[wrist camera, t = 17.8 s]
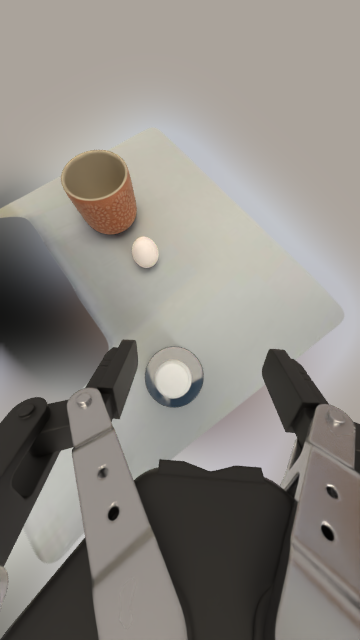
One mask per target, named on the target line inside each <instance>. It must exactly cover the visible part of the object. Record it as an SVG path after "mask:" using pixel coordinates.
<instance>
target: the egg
mask: <svg viewBox="0 0 360 640" xmlns="http://www.w3.org/2000/svg"><path fill="white" fill-rule="evenodd" d="M132 255H133V258H134V260H135V262H136V263H137V264H138V265H140V266H141V267H144V268H149V267H152V266H154V265H155V264H156V262H157V260H158V256H159V253H158V249H157V246H156V244H155V243H154V242H153V241H152V240H151V239H149V238H147V237H144V236H143V237H139V238H137V239H136V240H135V242H134V243H133V246H132Z"/></svg>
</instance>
